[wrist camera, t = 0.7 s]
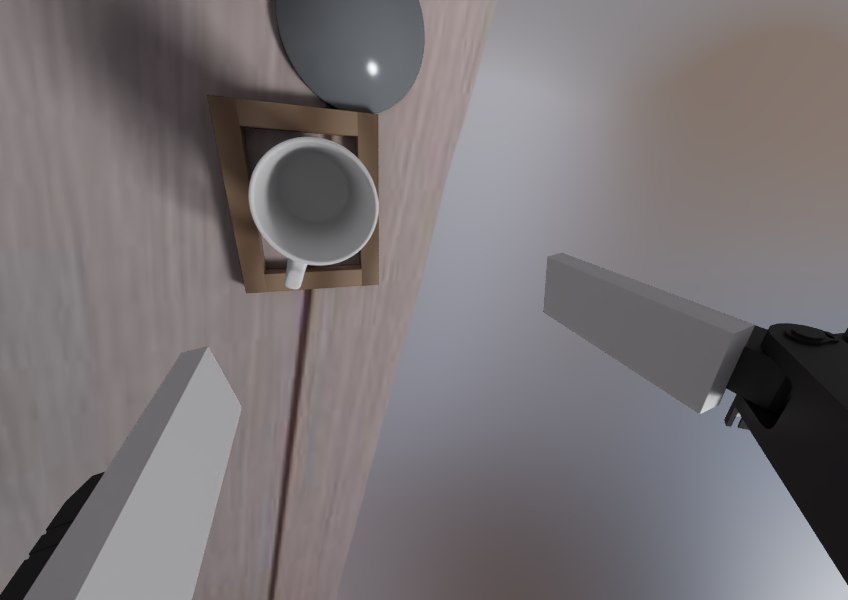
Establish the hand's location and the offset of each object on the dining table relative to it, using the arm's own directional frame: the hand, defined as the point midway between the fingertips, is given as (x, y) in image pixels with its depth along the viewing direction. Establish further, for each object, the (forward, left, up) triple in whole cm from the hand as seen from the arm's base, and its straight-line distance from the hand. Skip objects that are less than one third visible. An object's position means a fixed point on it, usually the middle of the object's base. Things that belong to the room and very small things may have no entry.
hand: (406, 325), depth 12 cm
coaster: (+1, +15, -20) cm, 25 cm away
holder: (-3, +2, -20) cm, 21 cm away
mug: (-3, +2, -20) cm, 21 cm away
